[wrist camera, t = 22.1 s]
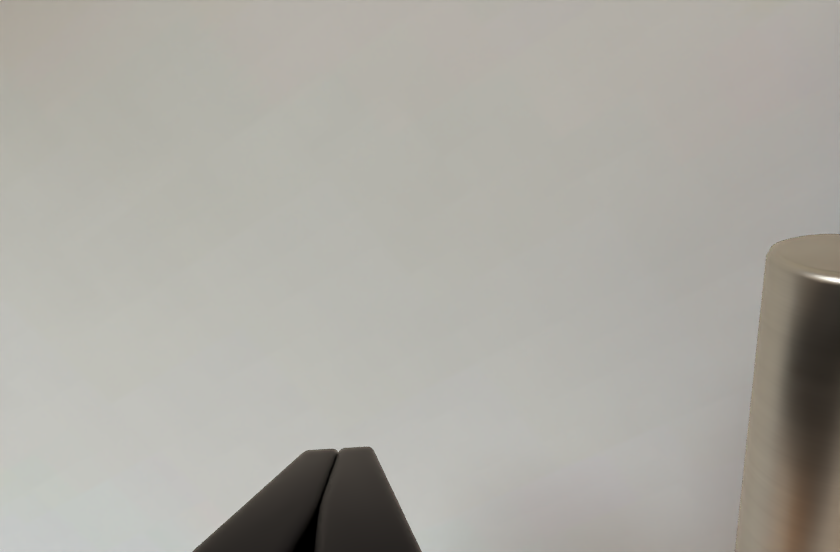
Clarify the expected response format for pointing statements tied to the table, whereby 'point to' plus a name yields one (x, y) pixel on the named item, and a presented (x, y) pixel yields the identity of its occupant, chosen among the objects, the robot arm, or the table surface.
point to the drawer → (795, 404)
